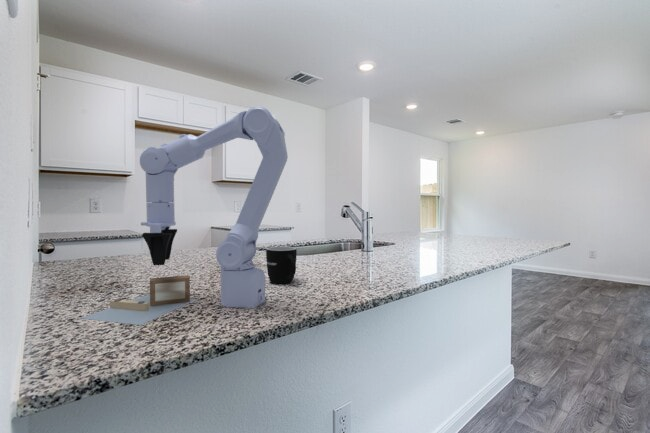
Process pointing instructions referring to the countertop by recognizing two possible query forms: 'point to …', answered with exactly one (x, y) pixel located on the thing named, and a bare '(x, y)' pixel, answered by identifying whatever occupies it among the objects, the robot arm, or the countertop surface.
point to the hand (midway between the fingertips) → (161, 262)
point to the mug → (281, 264)
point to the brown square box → (169, 290)
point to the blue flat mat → (134, 311)
